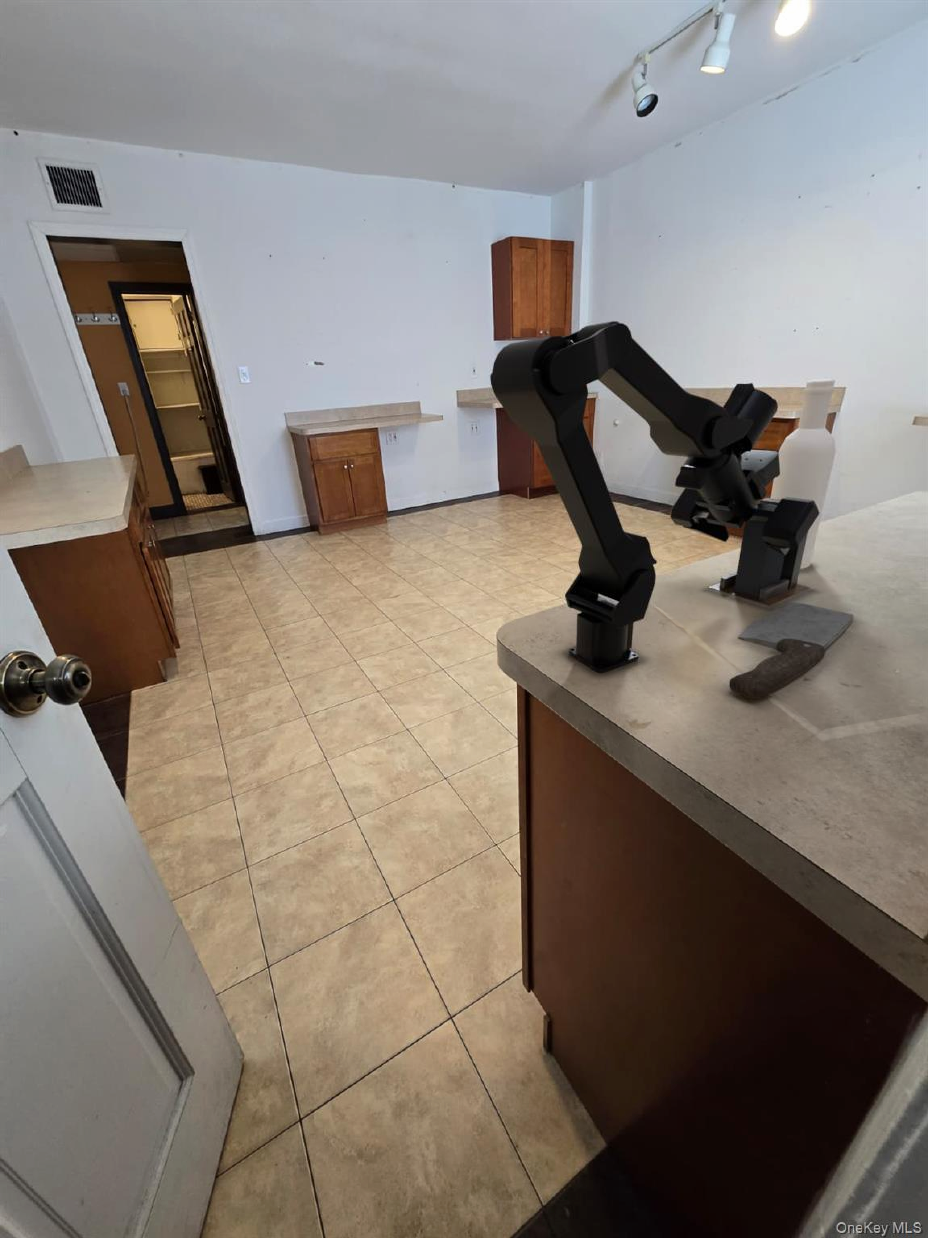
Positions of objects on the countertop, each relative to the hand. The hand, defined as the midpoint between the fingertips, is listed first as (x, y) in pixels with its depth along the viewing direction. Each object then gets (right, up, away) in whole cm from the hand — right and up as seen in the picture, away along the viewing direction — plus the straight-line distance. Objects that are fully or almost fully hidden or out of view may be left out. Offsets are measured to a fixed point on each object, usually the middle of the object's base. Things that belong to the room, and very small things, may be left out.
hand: (754, 545), depth 77 cm
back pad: (+2, -7, +3) cm, 8 cm away
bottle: (+13, -2, +14) cm, 20 cm away
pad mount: (+4, -6, +5) cm, 9 cm away
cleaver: (-3, -15, -12) cm, 19 cm away
